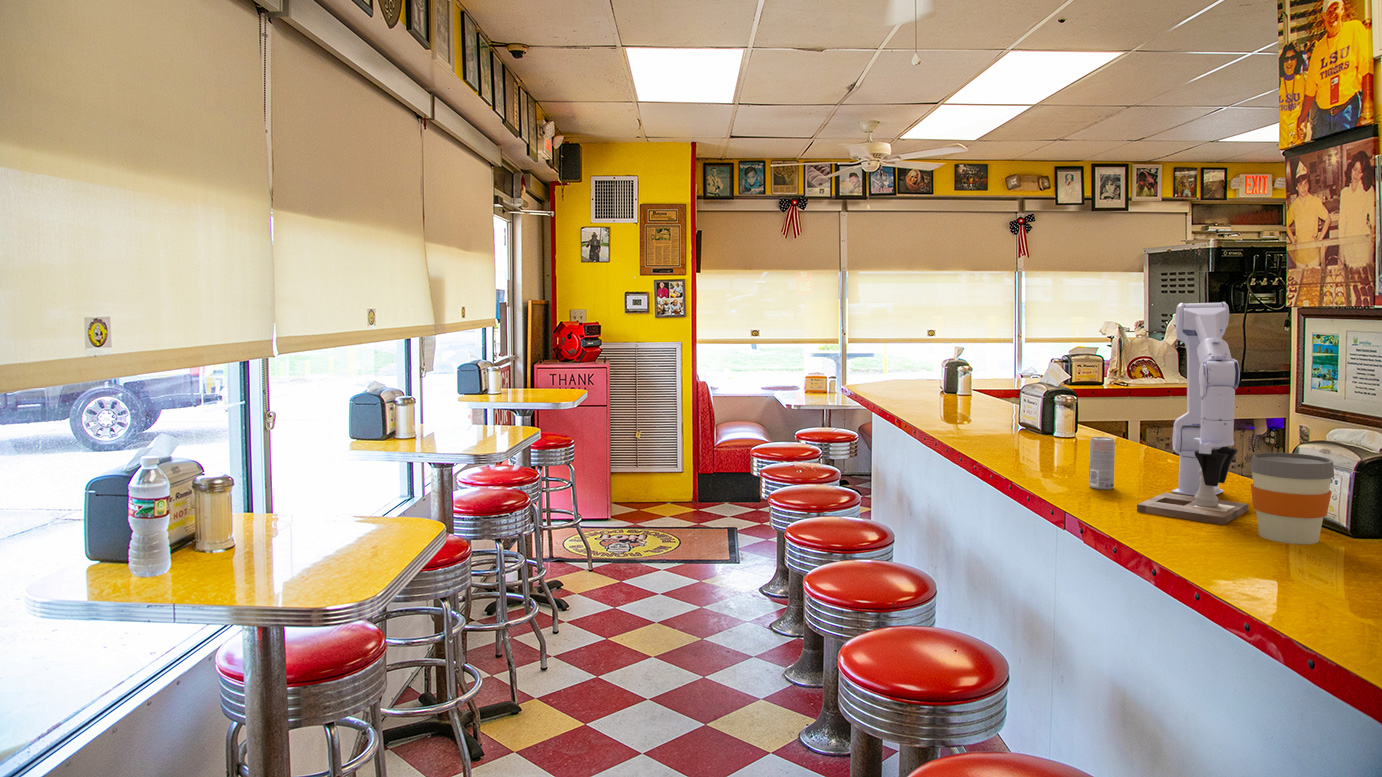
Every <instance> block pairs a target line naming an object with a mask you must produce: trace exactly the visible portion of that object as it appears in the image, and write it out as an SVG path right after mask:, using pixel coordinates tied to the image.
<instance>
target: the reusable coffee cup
mask: <svg viewBox="0 0 1382 777" xmlns="http://www.w3.org/2000/svg"><path fill="white" fill-rule="evenodd" d="M1249 465H1250V466H1249V471H1250V472H1251V475H1252V483H1251V484H1250V491H1251V498H1252V499H1251V500H1252V507H1253V509H1254V510H1255V512H1256V521H1257V530H1258V536H1260V537H1261V538H1263V539H1266V540H1270V541H1273V542H1277V543H1283V544H1292V545H1314V544H1317V543H1319V540H1320V536H1321V530H1322V527H1323V526H1322V525H1323V521H1324V518H1325V517H1327V515H1328V511H1329V507H1330V501H1331V496H1332V492H1333V491H1332V490H1330V487H1331V484H1332V479H1333V478H1335V469H1334V460H1333V459H1331V458H1327V457H1324V456H1319V455H1310V454H1305V453H1303V454H1302V453H1293V452H1258V453H1253V454H1252V455H1251V461H1250V464H1249Z"/></svg>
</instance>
